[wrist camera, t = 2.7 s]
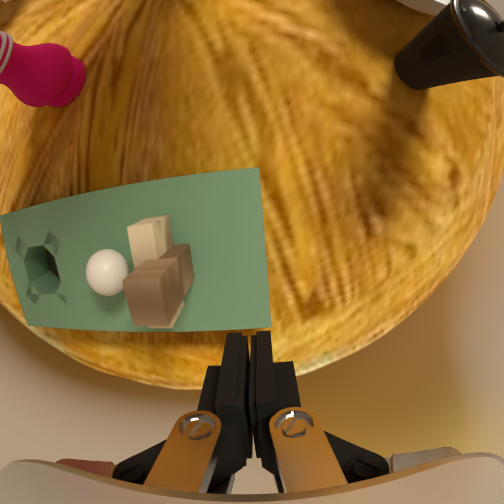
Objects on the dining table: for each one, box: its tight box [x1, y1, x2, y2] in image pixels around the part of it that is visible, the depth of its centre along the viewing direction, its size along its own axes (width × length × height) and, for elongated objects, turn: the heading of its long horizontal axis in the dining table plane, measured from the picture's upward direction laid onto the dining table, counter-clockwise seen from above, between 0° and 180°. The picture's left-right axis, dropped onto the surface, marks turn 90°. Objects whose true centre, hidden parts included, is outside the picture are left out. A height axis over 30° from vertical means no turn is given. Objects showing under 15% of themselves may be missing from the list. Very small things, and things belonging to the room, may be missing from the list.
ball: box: [86, 249, 130, 296], centre depth 22 cm, size 4×4×4 cm
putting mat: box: [0, 168, 271, 332], centre depth 26 cm, size 14×30×4 cm, turn 95°
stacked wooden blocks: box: [122, 215, 195, 328], centre depth 20 cm, size 8×3×8 cm, turn 5°
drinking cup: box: [395, 0, 504, 90], centre depth 13 cm, size 8×8×20 cm
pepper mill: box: [0, 31, 86, 107], centre depth 14 cm, size 7×7×20 cm
